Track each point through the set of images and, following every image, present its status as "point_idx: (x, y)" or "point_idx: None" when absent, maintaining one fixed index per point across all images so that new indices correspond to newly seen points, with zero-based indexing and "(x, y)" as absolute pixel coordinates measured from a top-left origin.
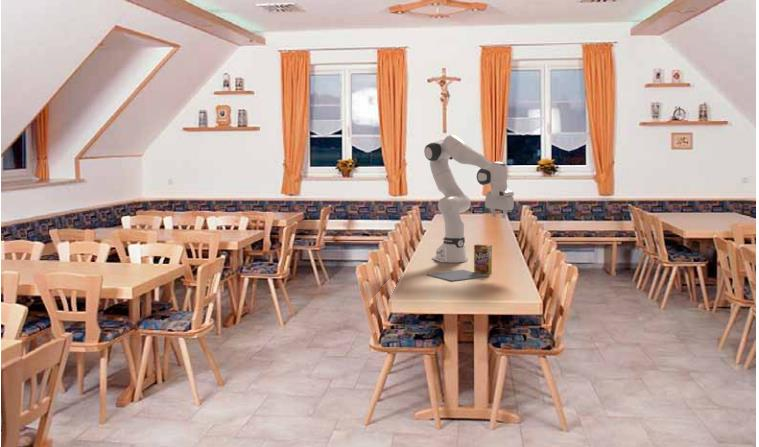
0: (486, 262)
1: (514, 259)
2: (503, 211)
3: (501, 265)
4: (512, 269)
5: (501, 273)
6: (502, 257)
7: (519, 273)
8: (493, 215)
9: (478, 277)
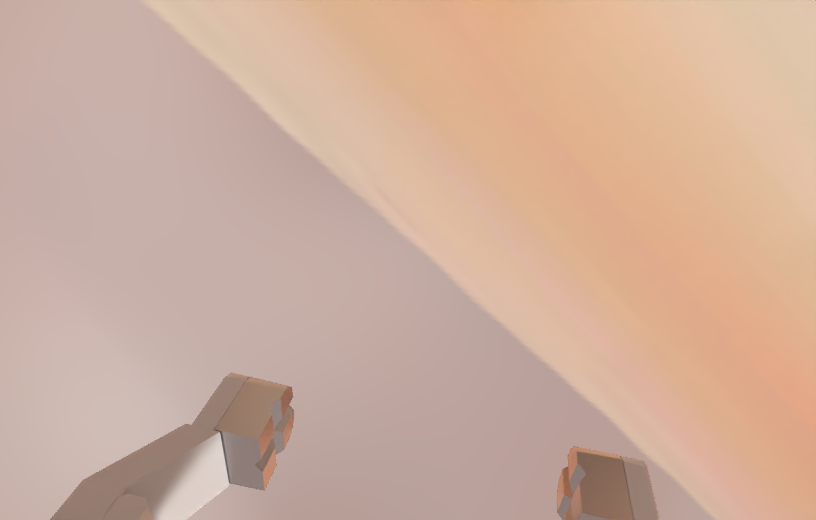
0: None
1: (688, 466)
2: (110, 501)
3: (625, 279)
4: (466, 213)
5: (403, 30)
6: (798, 483)
7: (328, 132)
8: (595, 475)
9: None
